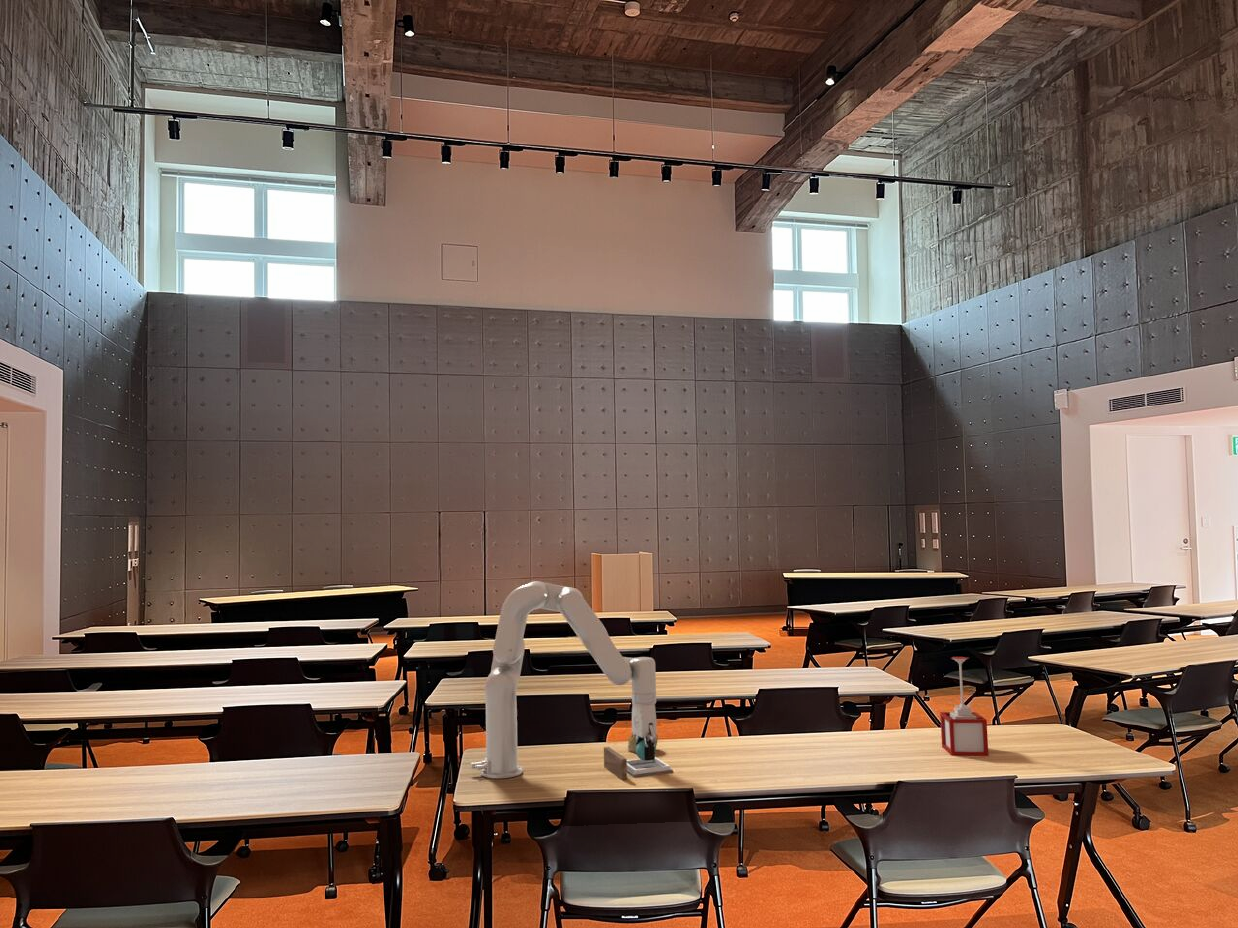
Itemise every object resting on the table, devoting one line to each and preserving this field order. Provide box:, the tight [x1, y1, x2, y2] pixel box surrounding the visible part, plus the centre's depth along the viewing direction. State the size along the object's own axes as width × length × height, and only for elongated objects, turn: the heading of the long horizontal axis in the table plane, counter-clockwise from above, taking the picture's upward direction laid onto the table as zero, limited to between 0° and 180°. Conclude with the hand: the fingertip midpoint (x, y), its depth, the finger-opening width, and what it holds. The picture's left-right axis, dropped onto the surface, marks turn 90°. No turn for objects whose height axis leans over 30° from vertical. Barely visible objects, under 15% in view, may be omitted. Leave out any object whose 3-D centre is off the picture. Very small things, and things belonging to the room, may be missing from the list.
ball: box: [635, 740, 646, 761], centre depth 262 cm, size 6×6×6 cm
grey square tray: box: [627, 756, 674, 778], centre depth 262 cm, size 13×13×2 cm
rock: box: [627, 731, 659, 754], centre depth 285 cm, size 10×11×10 cm
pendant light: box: [939, 656, 990, 757], centre depth 277 cm, size 11×11×30 cm
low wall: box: [603, 746, 628, 781], centre depth 258 cm, size 2×16×6 cm, turn 20°
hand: (645, 756), depth 262 cm, fingers closed on ball, 5 cm apart
